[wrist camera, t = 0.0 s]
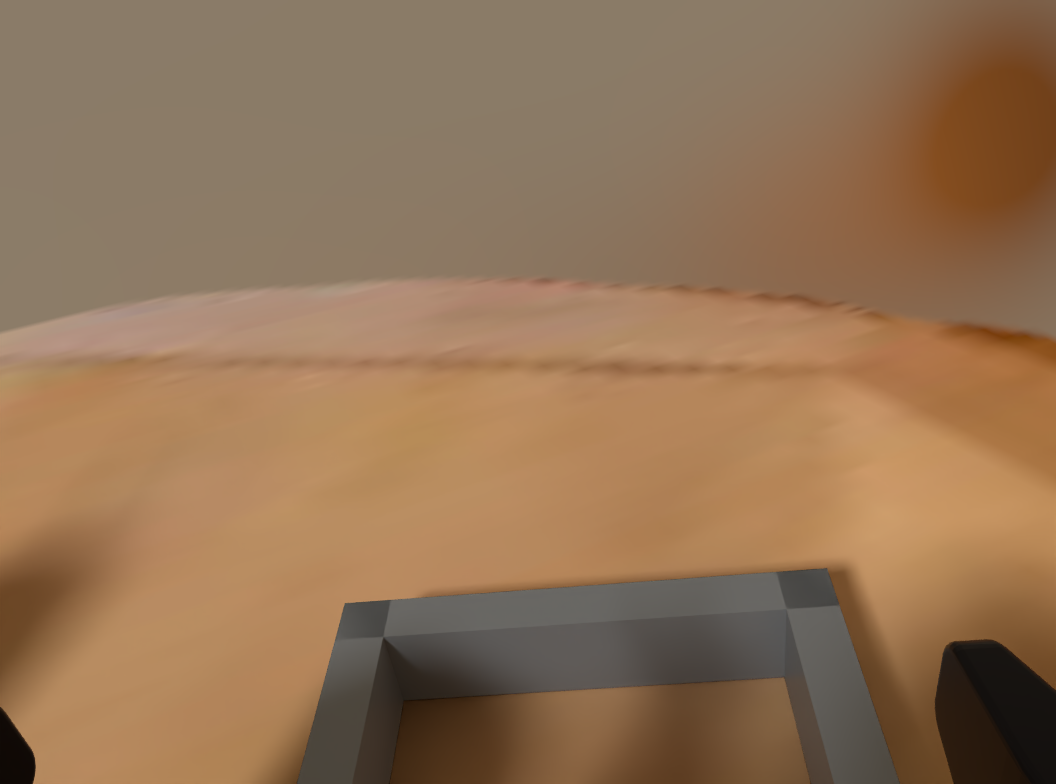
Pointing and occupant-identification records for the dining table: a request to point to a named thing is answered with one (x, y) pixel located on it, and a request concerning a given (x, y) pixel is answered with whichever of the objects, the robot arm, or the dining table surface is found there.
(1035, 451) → the dining table surface
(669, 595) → the frame
